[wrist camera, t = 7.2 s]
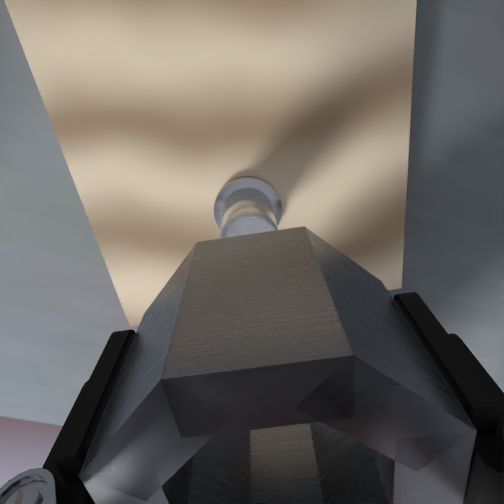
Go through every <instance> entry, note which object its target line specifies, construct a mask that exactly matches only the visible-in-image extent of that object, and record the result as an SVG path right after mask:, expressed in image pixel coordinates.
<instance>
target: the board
mask: <svg viewBox="0 0 504 504" xmlns="http://www.w3.org/2000/svg"><path fill="white" fill-rule="evenodd" d="M4 1H5V3H6V6H7V9H8V11H9V14H10V16H11V19H12V22H13V24H14V27H15V29H16V32H17V35H18V37H19V40H20V42H21V45H22V48H23V50H24V53H25V55H26V58H27V61H28V63H29V66H30V68H31V71H32V73H33V76H34V79H35V81H36V84H37V86H38V89H39V92H40V94H41V97H42V99H43V102H44V105H45V107H46V110H47V112H48V115H49V118H50V120H51V123H52V125H53V128H54V131H55V133H56V136H57V138H58V141H59V144H60V146H61V149H62V151H63V154H64V157H65V159H66V162H67V164H68V167H69V170H70V172H71V175H72V177H73V180H74V182H75V185H76V188H77V190H78V193H79V195H80V198H81V201H82V203H83V206H84V208H85V211H86V214H87V216H88V219H89V221H90V224H91V227H92V229H93V232H94V234H95V237H96V240H97V242H98V245H99V247H100V250H101V253H102V255H103V258H104V260H105V263H106V266H107V268H108V271H109V273H110V276H111V279H112V281H113V284H114V286H115V289H116V291H117V294H118V297H119V299H120V302H121V304H122V307H123V310H124V312H125V315H126V317H127V320H128V323H129V325H130V327H131V326H138V325H140V322H141V320H142V317H143V315H144V313H145V312H146V310H147V309H148V308H149V306H150V305H151V304H152V302H153V301H154V299H155V298H156V297H157V295H158V294H159V293H160V291H161V290H162V289H163V287H164V286H165V285H166V283H167V282H168V281H169V279H170V278H171V277H172V275H173V274H174V272H175V271H176V270H177V268H178V267H179V266H180V264H181V263H182V262H183V260H184V259H185V258H186V256H187V255H188V254H189V252H190V251H191V250H192V248H193V247H194V245H195V244H196V243H197V242H199V241H206V240H213V239H220V233H221V230H220V229H219V227H218V226H217V224H216V221H215V218H214V204H215V199H216V196H217V194H218V192H219V191H220V189H221V188H222V187H223V186H224V185H225V184H226V183H228V182H229V181H231V180H233V179H235V178H238V177H242V176H254V177H258V178H261V179H263V180H265V181H267V182H268V183H269V184H271V185H272V186H273V187H274V188H275V190H276V191H277V193H278V195H279V198H280V201H281V205H282V216H281V220H280V223H279V225H278V226H277V227H278V230H282V229H289V228H296V227H303V226H305V227H306V228H308V229H309V230H310V231H312V232H313V233H315V234H316V235H317V236H319V237H320V238H322V239H323V240H324V241H326V242H327V243H329V244H330V245H332V246H333V247H334V248H336V249H337V250H339V251H340V252H341V253H343V254H344V255H346V256H347V257H348V258H350V259H351V260H353V261H354V262H355V263H357V264H358V265H360V266H361V267H362V268H364V269H365V270H367V271H368V272H369V273H371V274H372V275H374V276H375V277H376V278H378V279H379V280H381V281H382V283H383V284H384V286H385V287H386V289H387V290H394V289H401V288H402V271H403V252H404V233H405V214H406V195H407V176H408V157H409V138H410V119H411V100H412V81H413V62H414V43H415V24H416V5H417V0H4Z"/></svg>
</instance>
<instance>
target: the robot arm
mask: <svg viewBox="0 0 504 504" xmlns="http://www.w3.org/2000/svg"><path fill="white" fill-rule="evenodd" d="M394 301H395V303H396V305H397V306H398V308H399V309H400V311H401V312H402V314H403V316H404V317H405V319H406V320H407V322H408V323H409V325H410V326H411V328H412V330H413V331H414V333H415V334H416V336H417V337H418V339H419V341H420V342H421V344H422V345H423V347H424V348H425V350H426V352H427V353H428V355H429V356H430V358H431V359H432V361H433V363H434V364H435V366H436V367H437V369H438V370H439V372H440V373H441V375H442V377H443V378H444V380H445V381H446V383H447V384H448V386H449V388H450V389H451V391H452V392H453V394H454V395H455V397H456V399H457V400H458V402H459V403H460V405H461V406H462V408H463V410H464V411H465V413H466V414H467V416H468V417H469V419H470V421H471V422H472V424H473V425H474V427H475V428H476V430H477V433H476V438H475V443H474V448H473V453H472V458H471V463H470V468H469V473H468V479H467V484H466V489H465V494H464V499H463V504H504V393H503V392H502V390H501V389H500V388H499V387H498V385H497V384H496V383H495V381H494V380H493V379H492V378H491V376H490V375H489V374H488V373H487V371H486V370H485V369H484V368H483V366H482V365H481V364H480V363H479V361H478V360H477V359H476V358H475V356H474V355H473V354H472V352H471V351H470V350H469V349H468V347H467V346H466V345H465V344H464V342H463V341H462V340H461V339H460V338H459V337H458V336H457V335H456V334H448V333H447V332H446V331H445V329H444V328H443V327H442V325H441V324H440V323H439V322H438V320H437V319H436V318H435V316H434V315H433V314H432V312H431V311H430V310H429V308H428V307H427V306H426V304H425V303H424V302H423V300H422V299H421V298H420V296H419V295H418V294H417V293H416V292H411V293H403V294H396V295H395V296H394ZM135 335H136V333H135V331H134V330H124V331H117V332H113V333H112V334H111V336H110V338H109V340H108V342H107V344H106V346H105V348H104V350H103V352H102V354H101V356H100V358H99V361H98V363H97V365H96V367H95V369H94V371H93V373H92V375H91V377H90V379H89V380H88V381H87V382H86V383H85V384H84V386H83V387H82V389H81V391H80V393H79V395H78V397H77V399H76V401H75V403H74V405H73V407H72V409H71V411H70V413H69V415H68V417H67V419H66V421H65V423H64V425H63V427H62V429H61V431H60V433H59V436H58V438H57V439H56V441H55V443H54V445H53V447H52V449H51V452H50V453H49V456H48V457H47V460H46V461H45V463H44V465H43V468H37V469H30V470H27V471H25V472H23V473H20V474H18V475H17V476H15V477H14V478H12V479H11V480H9V481H8V482H7V483H6V484H5V485H3V486H2V487H1V488H0V504H95V502H94V501H93V499H92V497H91V496H90V494H89V492H88V491H87V489H86V487H85V486H84V484H83V482H82V481H81V479H80V477H79V474H80V472H81V469H82V467H83V464H84V462H85V459H86V457H87V454H88V452H89V449H90V447H91V444H92V442H93V439H94V437H95V434H96V432H97V429H98V427H99V424H100V422H101V419H102V417H103V414H104V412H105V409H106V407H107V404H108V402H109V400H110V397H111V395H112V392H113V390H114V387H115V385H116V382H117V380H118V377H119V375H120V372H121V370H122V367H123V365H124V362H125V360H126V357H127V355H128V352H129V350H130V347H131V345H132V342H133V340H134V337H135Z"/></svg>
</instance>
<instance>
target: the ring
mask: <svg viewBox="0 0 504 504" xmlns="http://www.w3.org/2000/svg"><path fill="white" fill-rule="evenodd" d="M476 433H477V430H476V428H475V427H474V425H473V424H472V422H471V421H470V419H469V417H468V416H467V414H466V413H465V411H464V410H463V408H462V406H461V405H460V403H459V402H458V400H457V399H456V397H455V395H454V394H453V392H452V391H451V389H450V388H449V386H448V384H447V383H446V381H445V380H444V378H443V377H442V375H441V373H440V372H439V370H438V369H437V367H436V366H435V364H434V363H433V361H432V359H431V358H430V356H429V355H428V353H427V352H426V350H425V348H424V347H423V345H422V344H421V342H420V341H419V339H418V337H417V336H416V334H415V333H414V331H413V330H412V328H411V326H410V325H409V323H408V322H407V320H406V319H405V317H404V316H403V314H402V312H401V311H400V309H399V308H398V306H397V305H396V303H395V301H394V300H393V298H392V297H391V295H390V294H389V292H388V290H387V289H386V287H385V286H384V284H383V283H382V281H381V280H379V279H378V278H376V277H375V276H374V275H372V274H371V273H369V272H368V271H367V270H365V269H364V268H362V267H361V266H360V265H358V264H357V263H355V262H354V261H353V260H351V259H350V258H348V257H347V256H346V255H344V254H343V253H341V252H340V251H339V250H337V249H336V248H334V247H333V246H332V245H330V244H329V243H327V242H326V241H324V240H323V239H322V238H320V237H319V236H317V235H316V234H315V233H313V232H312V231H310V230H309V229H308V228H306V227H305V226H303V227H296V228H289V229H282V230H275V231H268V232H261V233H254V234H247V235H241V236H234V237H227V238H220V239H213V240H206V241H199V242H197V243H196V244H195V245H194V247H193V248H192V250H191V251H190V252H189V254H188V255H187V256H186V258H185V259H184V260H183V262H182V263H181V264H180V266H179V267H178V268H177V270H176V271H175V272H174V274H173V275H172V277H171V278H170V279H169V281H168V282H167V283H166V285H165V286H164V287H163V289H162V290H161V291H160V293H159V294H158V295H157V297H156V298H155V299H154V301H153V302H152V304H151V305H150V306H149V308H148V309H147V310H146V312H145V313H144V315H143V317H142V320H141V322H140V325H139V327H138V330H137V332H136V335H135V337H134V340H133V342H132V345H131V347H130V350H129V352H128V355H127V357H126V360H125V362H124V365H123V367H122V370H121V372H120V375H119V377H118V380H117V382H116V385H115V387H114V390H113V392H112V395H111V397H110V400H109V402H108V404H107V407H106V409H105V412H104V414H103V417H102V419H101V422H100V424H99V427H98V429H97V432H96V434H95V437H94V439H93V442H92V444H91V447H90V449H89V452H88V454H87V457H86V459H85V462H84V464H83V467H82V469H81V472H80V474H79V477H80V479H81V481H82V482H83V484H84V486H85V487H86V489H87V491H88V492H89V494H90V496H91V497H92V499H93V501H94V502H95V504H463V499H464V494H465V489H466V484H467V479H468V473H469V468H470V463H471V458H472V453H473V448H474V443H475V438H476Z"/></svg>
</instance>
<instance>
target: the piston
mask: <svg viewBox="0 0 504 504" xmlns="http://www.w3.org/2000/svg"><path fill="white" fill-rule="evenodd" d="M281 216H282V205H281V201H280V198H279V195H278V193H277V191H276V190H275V188H274V187H273V186H272V185H271V184H269V183H268V182H267V181H265V180H263V179H261V178H258V177H254V176H242V177H238V178H235V179H233V180H231V181H229V182H228V183H226V184H225V185H224V186H223V187H222V188H221V189H220V191H219V192H218V194H217V196H216V199H215V204H214V218H215V221H216V224H217V226H218V227H219V229H220V230H221V233H220V238H227V237H234V236H241V235H247V234H254V233H261V232H268V231H275V230H278V227H277V226H278V225H279V223H280V220H281Z"/></svg>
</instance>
